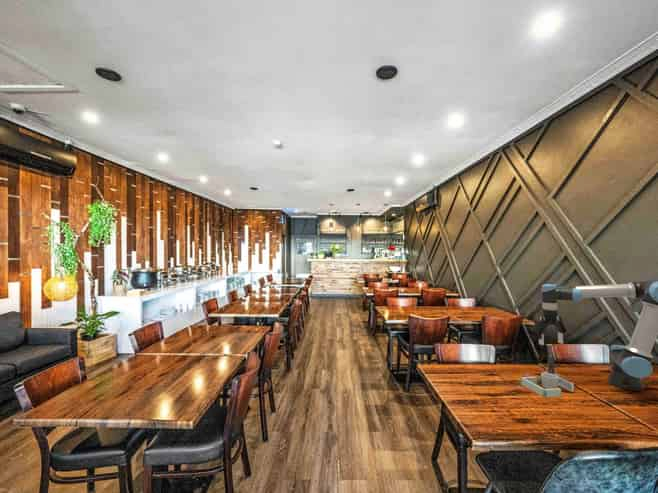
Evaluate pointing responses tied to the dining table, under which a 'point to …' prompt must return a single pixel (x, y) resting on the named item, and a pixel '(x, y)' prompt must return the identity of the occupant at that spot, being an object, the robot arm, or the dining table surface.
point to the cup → (550, 381)
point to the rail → (539, 378)
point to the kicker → (551, 370)
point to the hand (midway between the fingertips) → (551, 343)
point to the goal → (531, 384)
